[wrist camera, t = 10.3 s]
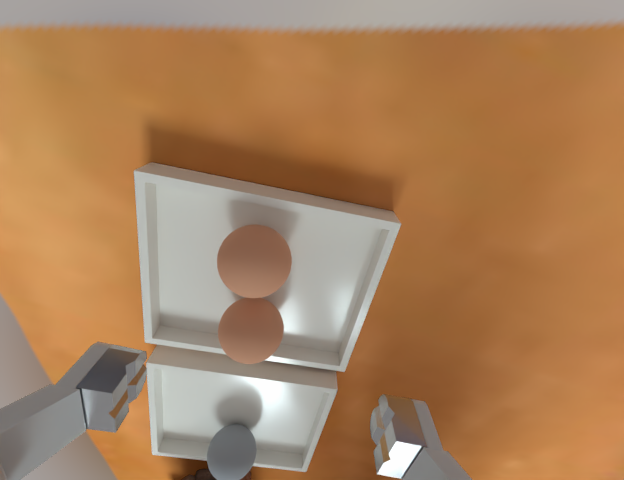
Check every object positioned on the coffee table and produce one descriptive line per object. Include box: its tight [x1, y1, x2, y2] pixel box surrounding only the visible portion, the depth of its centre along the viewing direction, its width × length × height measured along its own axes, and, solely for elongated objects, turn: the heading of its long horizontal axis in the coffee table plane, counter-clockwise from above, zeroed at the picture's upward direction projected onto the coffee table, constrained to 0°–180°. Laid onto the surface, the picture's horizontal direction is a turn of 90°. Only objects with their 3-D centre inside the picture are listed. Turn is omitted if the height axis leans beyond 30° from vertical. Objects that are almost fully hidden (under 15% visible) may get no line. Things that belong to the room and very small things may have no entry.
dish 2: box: [146, 344, 338, 472], centre depth 25 cm, size 12×14×2 cm
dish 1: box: [134, 162, 401, 372], centre depth 19 cm, size 12×14×2 cm
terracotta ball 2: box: [218, 298, 284, 364], centre depth 19 cm, size 4×4×4 cm
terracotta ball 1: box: [217, 224, 292, 298], centre depth 16 cm, size 4×4×4 cm
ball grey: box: [207, 424, 257, 480], centre depth 25 cm, size 4×4×4 cm
